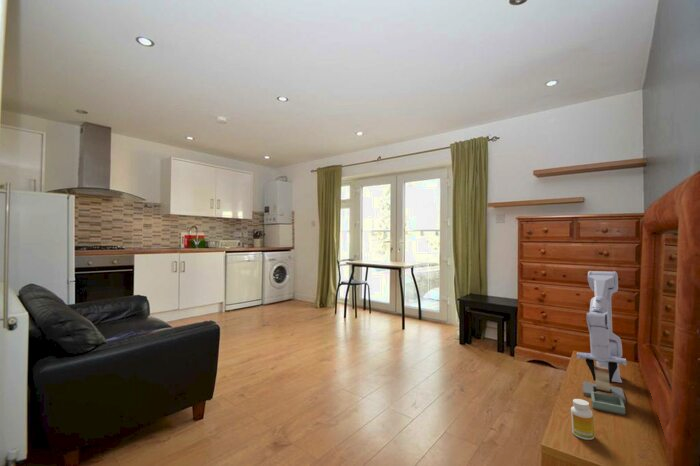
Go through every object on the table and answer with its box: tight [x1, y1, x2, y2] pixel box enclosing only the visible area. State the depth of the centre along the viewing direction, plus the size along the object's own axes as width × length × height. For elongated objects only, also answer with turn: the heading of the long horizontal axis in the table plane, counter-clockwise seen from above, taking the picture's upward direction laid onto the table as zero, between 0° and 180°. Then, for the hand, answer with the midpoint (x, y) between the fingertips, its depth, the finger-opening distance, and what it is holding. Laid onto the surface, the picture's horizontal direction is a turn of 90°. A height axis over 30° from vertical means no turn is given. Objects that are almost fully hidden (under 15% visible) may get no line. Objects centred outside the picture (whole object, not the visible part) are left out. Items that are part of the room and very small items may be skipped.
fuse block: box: [594, 365, 611, 391], centre depth 119 cm, size 4×4×7 cm
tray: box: [590, 391, 626, 416], centre depth 110 cm, size 9×9×2 cm
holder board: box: [582, 380, 627, 404], centre depth 119 cm, size 11×12×1 cm
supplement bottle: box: [570, 398, 595, 441], centre depth 95 cm, size 5×5×10 cm
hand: (602, 380), depth 119 cm, fingers closed on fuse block, 4 cm apart
